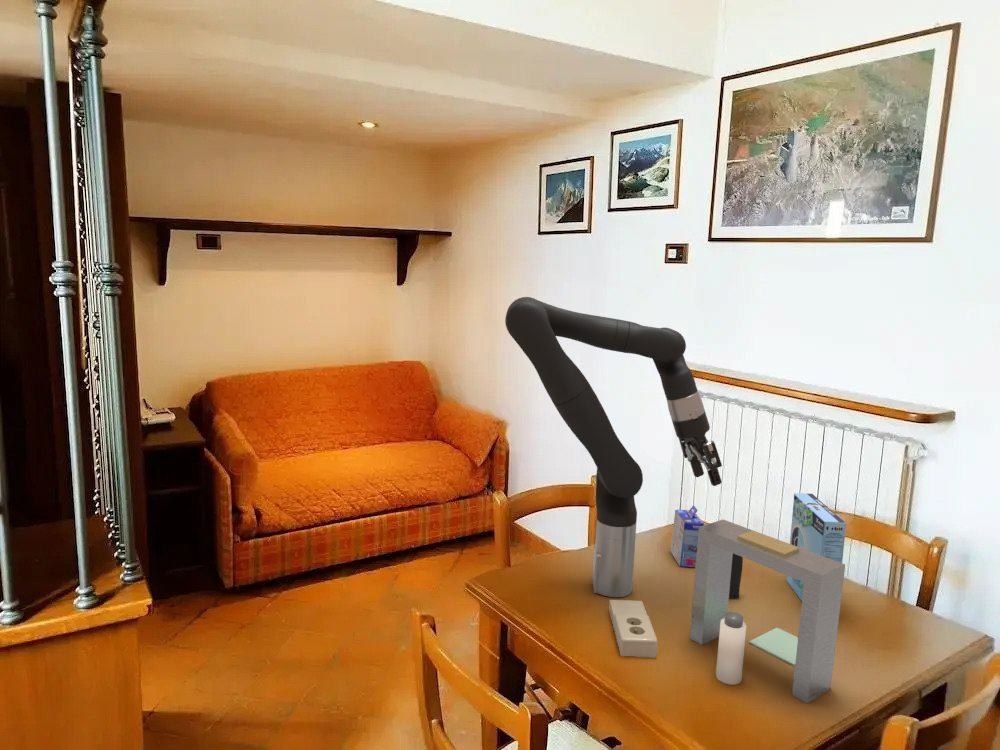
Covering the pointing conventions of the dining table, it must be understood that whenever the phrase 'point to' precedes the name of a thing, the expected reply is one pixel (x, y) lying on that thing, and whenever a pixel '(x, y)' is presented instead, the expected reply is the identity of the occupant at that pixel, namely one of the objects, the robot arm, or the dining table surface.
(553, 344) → the robot arm
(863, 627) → the dining table surface
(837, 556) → the gum box
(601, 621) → the dining table surface
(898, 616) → the dining table surface
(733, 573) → the black rounded block
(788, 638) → the mat
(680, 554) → the ink cartridge box
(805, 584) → the arch
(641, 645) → the electrical outlet
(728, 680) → the bottle
